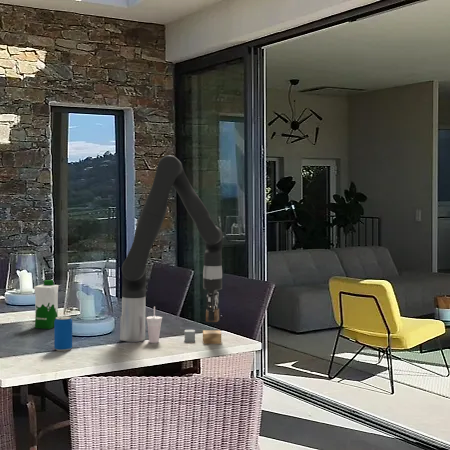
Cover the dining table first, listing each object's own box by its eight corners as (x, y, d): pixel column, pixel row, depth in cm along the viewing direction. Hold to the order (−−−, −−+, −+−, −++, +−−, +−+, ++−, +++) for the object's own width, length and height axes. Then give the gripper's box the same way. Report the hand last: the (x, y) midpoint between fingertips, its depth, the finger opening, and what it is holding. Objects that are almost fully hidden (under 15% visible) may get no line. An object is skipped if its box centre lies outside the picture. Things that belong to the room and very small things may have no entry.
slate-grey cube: (184, 341, 264) (184, 331, 264) (184, 339, 268) (184, 329, 268) (194, 341, 264) (195, 331, 264) (194, 339, 268) (194, 329, 268)
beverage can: (65, 346, 252) (65, 315, 252) (75, 349, 248) (75, 317, 248) (50, 349, 247) (50, 317, 247) (61, 352, 243) (61, 319, 243)
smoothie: (147, 344, 259) (147, 308, 258) (144, 340, 265) (144, 305, 264) (163, 343, 260) (163, 307, 260) (160, 339, 266) (160, 305, 266)
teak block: (203, 344, 261) (203, 334, 261) (202, 340, 268) (202, 330, 268) (221, 344, 261) (221, 334, 261) (220, 340, 268) (220, 330, 268)
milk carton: (60, 325, 292) (60, 280, 291) (50, 329, 283) (50, 282, 282) (42, 324, 294) (42, 279, 293) (31, 328, 285) (31, 281, 284)
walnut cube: (217, 322, 262) (217, 310, 261) (205, 321, 262) (205, 310, 262) (219, 319, 266) (219, 308, 266) (208, 319, 267) (208, 308, 267)
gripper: (206, 274, 271) (206, 316, 272) (199, 279, 257) (199, 323, 258) (225, 275, 270) (224, 317, 271) (218, 279, 256) (218, 323, 257)
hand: (212, 319), depth 264 cm, fingers closed on walnut cube, 4 cm apart
